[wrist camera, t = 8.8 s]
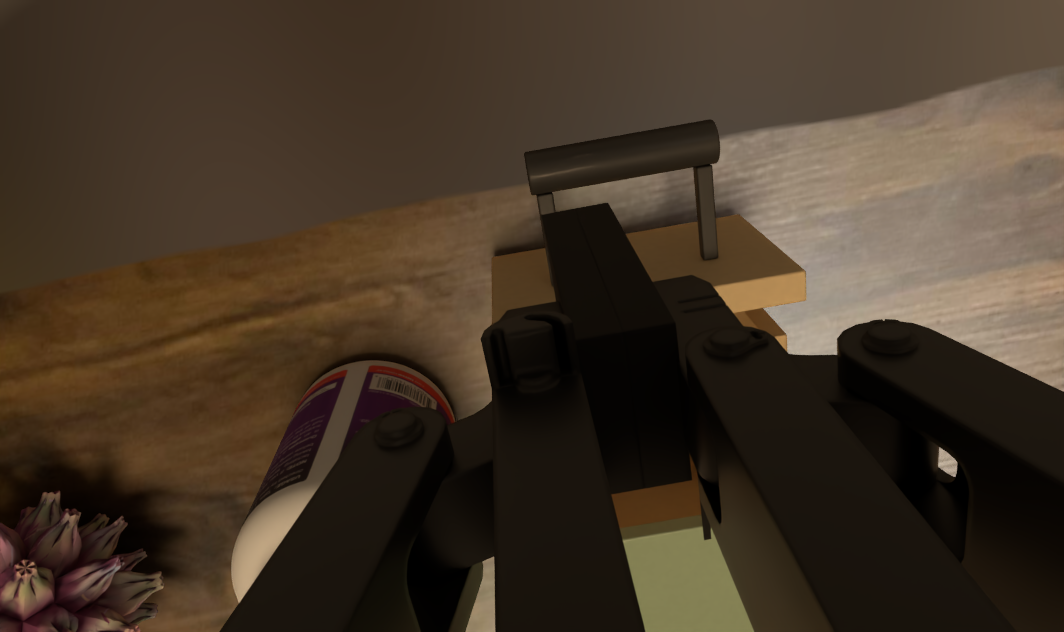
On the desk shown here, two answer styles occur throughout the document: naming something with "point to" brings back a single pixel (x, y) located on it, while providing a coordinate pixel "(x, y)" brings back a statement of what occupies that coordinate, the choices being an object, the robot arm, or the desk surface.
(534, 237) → the desk surface
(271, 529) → the pill bottle
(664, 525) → the cabinet
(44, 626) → the flower
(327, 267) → the desk surface
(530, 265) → the drawer
